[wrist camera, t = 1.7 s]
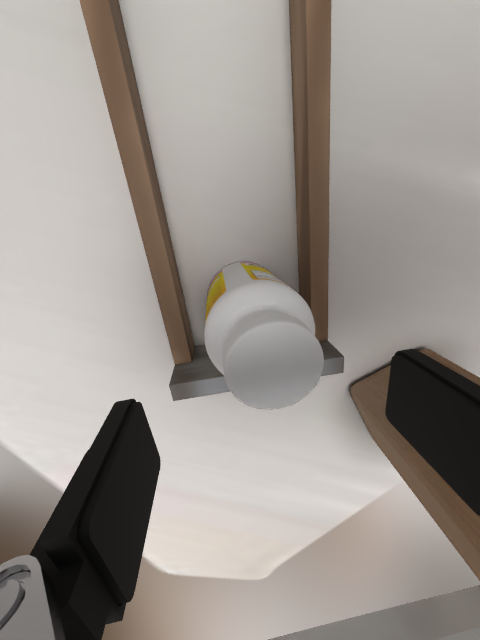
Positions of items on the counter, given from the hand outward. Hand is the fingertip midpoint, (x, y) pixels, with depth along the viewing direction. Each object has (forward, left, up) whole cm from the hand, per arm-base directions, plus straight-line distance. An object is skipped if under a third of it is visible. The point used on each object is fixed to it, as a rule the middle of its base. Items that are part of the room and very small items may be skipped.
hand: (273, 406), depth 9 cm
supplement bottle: (-1, 0, -15) cm, 15 cm away
